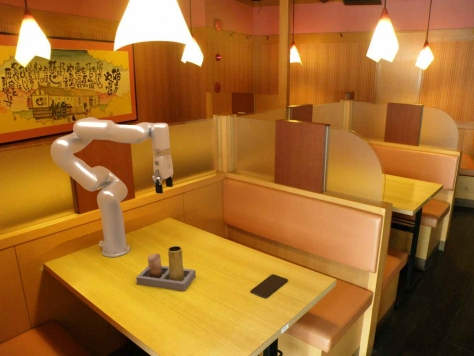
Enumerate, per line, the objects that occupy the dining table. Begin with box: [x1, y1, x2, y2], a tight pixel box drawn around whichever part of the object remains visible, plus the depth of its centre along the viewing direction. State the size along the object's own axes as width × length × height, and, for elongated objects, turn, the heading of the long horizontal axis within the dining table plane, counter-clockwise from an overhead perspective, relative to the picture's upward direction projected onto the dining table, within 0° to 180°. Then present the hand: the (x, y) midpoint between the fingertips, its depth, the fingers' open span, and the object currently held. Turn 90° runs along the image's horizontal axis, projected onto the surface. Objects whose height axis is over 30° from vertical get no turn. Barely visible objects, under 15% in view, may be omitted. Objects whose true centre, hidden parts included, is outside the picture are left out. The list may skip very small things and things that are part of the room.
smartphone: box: [249, 273, 289, 300], centre depth 148 cm, size 8×1×16 cm
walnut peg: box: [147, 253, 163, 278], centre depth 154 cm, size 5×5×10 cm
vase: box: [167, 245, 185, 282], centre depth 150 cm, size 6×6×14 cm
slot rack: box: [135, 265, 197, 292], centre depth 153 cm, size 20×11×3 cm, turn 74°
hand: (164, 189), depth 169 cm, fingers open, 9 cm apart
